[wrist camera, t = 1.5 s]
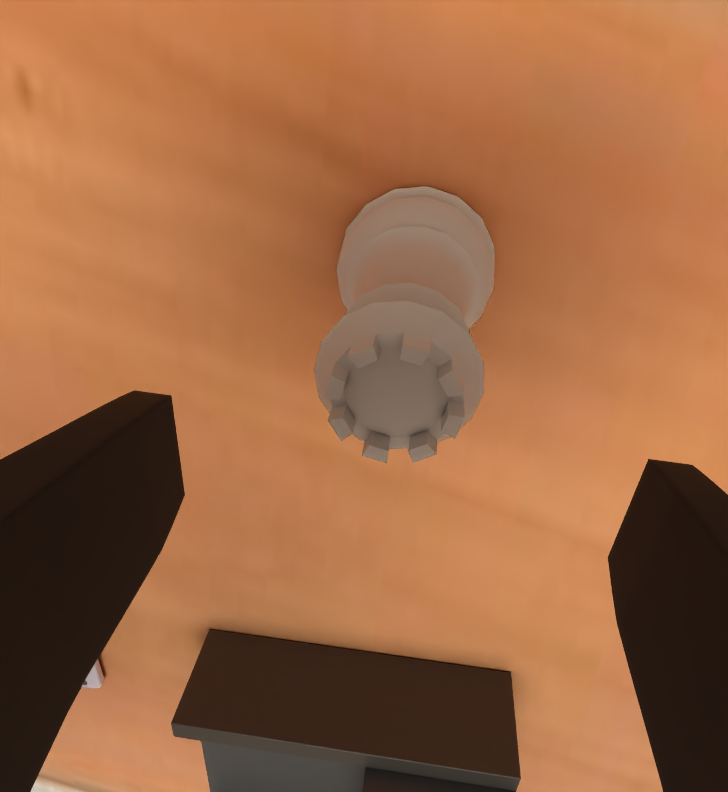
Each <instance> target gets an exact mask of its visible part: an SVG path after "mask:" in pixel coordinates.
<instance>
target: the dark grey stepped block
mask: <svg viewBox="0 0 728 792" xmlns="http://www.w3.org/2000/svg"><path fill="white" fill-rule="evenodd" d="M171 725H172V730H173V734H174V736H175V737H181V738H188V739H194V740H200V741H201V742H202V748H203V753H204V759H205V764H206V770H207V775H208V781H209V786H210V792H516V790H517V787H518V784H519V782H520V779H521V776H520V765H519V754H518V744H517V733H516V722H515V711H514V700H513V689H512V679H511V673H510V672H503V671H496V670H489V669H482V668H475V667H468V666H461V665H454V664H447V663H440V662H433V661H426V660H419V659H412V658H405V657H398V656H391V655H384V654H378V653H371V652H364V651H357V650H350V649H343V648H336V647H329V646H322V645H315V644H308V643H301V642H294V641H287V640H280V639H273V638H266V637H259V636H252V635H246V634H239V633H232V632H225V631H218V630H211V629H210V630H209V632H208V634H207V637H206V639H205V641H204V644H203V646H202V649H201V651H200V654H199V656H198V659H197V661H196V663H195V666H194V668H193V671H192V673H191V676H190V678H189V681H188V683H187V685H186V688H185V690H184V693H183V695H182V698H181V700H180V703H179V705H178V707H177V710H176V712H175V715H174V717H173V720H172V722H171Z"/></svg>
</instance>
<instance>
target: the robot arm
mask: <svg viewBox="0 0 728 792" xmlns="http://www.w3.org/2000/svg"><path fill="white" fill-rule="evenodd" d="M184 496H185V493H184V485H183V478H182V471H181V463H180V456H179V449H178V441H177V434H176V426H175V419H174V412H173V404H172V397H171V395H163V394H156V393H148V392H141V391H132V392H130V393H128V394H125V395H123V396H121V397H119V398H117V399H115V400H113V401H111V402H109V403H107V404H105V405H103V406H101V407H99V408H97V409H95V410H93V411H91V412H89V413H87V414H86V415H84V416H82V417H80V418H78V419H76V420H74V421H73V422H71V423H69V424H67V425H65V426H63V427H61V428H59V429H58V430H56V431H54V432H52V433H50V434H48V435H46V436H44V437H42V438H41V439H39V440H37V441H35V442H33V443H31V444H29V445H27V446H25V447H24V448H22V449H20V450H18V451H16V452H14V453H12V454H10V455H8V456H6V457H4V458H3V459H1V460H0V792H30V791H31V789H32V787H33V785H34V782H35V780H36V778H37V776H38V774H39V772H40V770H41V768H42V765H43V763H44V761H45V759H46V757H47V755H48V753H49V751H50V749H51V746H52V744H53V742H54V740H55V738H56V736H57V734H58V732H59V730H60V727H61V725H62V723H63V721H64V719H65V717H66V715H67V713H68V711H69V709H70V707H71V705H72V703H73V701H74V700H75V698H76V696H77V694H78V692H79V690H80V689H81V687H86V688H93V689H97V688H100V687H101V686H102V684H103V682H104V676H103V673H102V670H101V667H100V664H99V660H98V657H99V656H100V654H101V652H102V651H103V649H104V647H105V646H106V644H107V642H108V641H109V639H110V637H111V636H112V634H113V632H114V631H115V629H116V627H117V625H118V624H119V622H120V620H121V619H122V617H123V615H124V614H125V612H126V610H127V609H128V607H129V605H130V604H131V602H132V600H133V599H134V597H135V595H136V593H137V592H138V590H139V588H140V587H141V585H142V583H143V581H144V580H145V578H146V576H147V575H148V573H149V571H150V569H151V568H152V566H153V564H154V562H155V561H156V559H157V557H158V555H159V554H160V552H161V550H162V548H163V546H164V543H165V541H166V539H167V536H168V534H169V532H170V530H171V527H172V525H173V523H174V520H175V518H176V515H177V513H178V510H179V508H180V505H181V503H182V500H183V498H184ZM608 562H609V570H610V578H611V586H612V594H613V601H614V607H615V614H616V620H617V625H618V628H619V632H620V636H621V640H622V644H623V647H624V651H625V655H626V658H627V662H628V666H629V669H630V673H631V677H632V680H633V684H634V688H635V691H636V695H637V698H638V702H639V705H640V709H641V712H642V716H643V720H644V723H645V727H646V730H647V734H648V737H649V741H650V745H651V748H652V752H653V755H654V759H655V762H656V766H657V770H658V773H659V777H660V780H661V784H662V788H663V792H728V495H727V494H726V493H725V492H724V491H723V490H722V489H721V488H719V487H718V486H717V485H716V484H715V483H714V482H713V481H711V480H710V479H709V478H708V477H707V476H705V475H704V474H703V473H702V472H701V471H699V470H698V469H697V468H695V467H694V466H693V465H689V464H681V463H674V462H666V461H659V460H651V459H648V462H647V464H646V466H645V469H644V471H643V474H642V476H641V479H640V481H639V483H638V486H637V488H636V491H635V493H634V495H633V498H632V500H631V503H630V505H629V508H628V510H627V512H626V515H625V517H624V520H623V522H622V525H621V527H620V529H619V532H618V534H617V537H616V539H615V541H614V544H613V546H612V549H611V551H610V554H609V556H608Z"/></svg>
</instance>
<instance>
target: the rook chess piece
mask: <svg viewBox="0 0 728 792" xmlns="http://www.w3.org/2000/svg"><path fill="white" fill-rule="evenodd" d="M336 270H337V277H338V284H339V291H340V297H341V301H342V302H343V304H344V306H345V308H346V309H347V312H346V314H345V315H344V317H342V318H341V319H340V320H339V321H338V323H337V324H336V325H335V326H334V327H333V328H332V329H331V331H330V332H329V333H328V334H327V335H326V336H325V338H324V339H323V340H322V341H321V345H320V349H319V352H318V356H317V360H316V363H315V367H314V372H315V378H316V384H317V389H318V395H319V398H320V400H321V401H322V403H323V404H324V406H325V407H326V409H327V410H328V412H329V413H330V416H329V419H328V422H329V423H330V425H331V426H332V428H333V429H334V431H335V432H336V434H337V435H338V437H339V438H340V440H341V441H342V440H343V439H345V438H346V437H348V436H350V435H351V434H353V435H354V436H355V437H357V438H358V439H359V440H362V441H365V443H364V447H363V452H362V456H365V457H368V458H372V459H375V460H378V461H381V462H385V463H387V457H388V451H389V449H404V448H409V450H408V451H409V454H410V457H411V460H412V462H416V461H419V460H422V459H425V458H428V457H430V456H433V455H436V454H437V442H439V441H442V440H444V439H447V438H449V437H453V438H455V437H456V435H457V433H458V431H459V429H460V428H461V427H462V426H463V425H464V424H466V423H467V422H468V421H469V420H470V419H471V418H472V416H473V414H474V412H475V410H476V408H477V406H478V404H479V401H480V399H481V397H482V395H483V393H484V362H483V360H482V358H481V356H480V354H479V352H478V350H477V348H476V346H475V344H474V342H473V340H472V338H471V336H470V332H469V328H470V327H471V326H472V325H473V324H474V323H475V322H476V321H477V320H478V319H479V318H480V317H481V315H482V314H483V311H484V309H485V307H486V304H487V302H488V300H489V297H490V295H491V293H492V291H493V288H494V244H493V242H492V240H491V237H490V235H489V233H488V231H487V228H486V226H485V224H484V222H483V219H482V218H481V217H480V216H479V215H478V214H477V213H476V212H475V211H474V210H473V209H471V208H470V207H469V206H468V205H467V204H466V203H465V202H464V201H463V200H461V199H460V198H459V197H458V196H455V195H452V194H449V193H446V192H443V191H440V190H437V189H434V188H431V187H428V186H423V187H412V188H401V189H393V190H392V191H390V192H388V193H386V194H384V195H382V196H380V197H379V198H377V199H375V200H373V201H371V202H369V203H367V204H366V205H365V206H364V207H363V209H362V210H361V211H360V212H359V214H358V215H357V216H356V218H355V219H354V220H353V221H352V223H351V224H350V225H349V226H348V228H347V229H346V233H345V237H344V240H343V244H342V248H341V252H340V255H339V260H338V263H337V267H336Z"/></svg>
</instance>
